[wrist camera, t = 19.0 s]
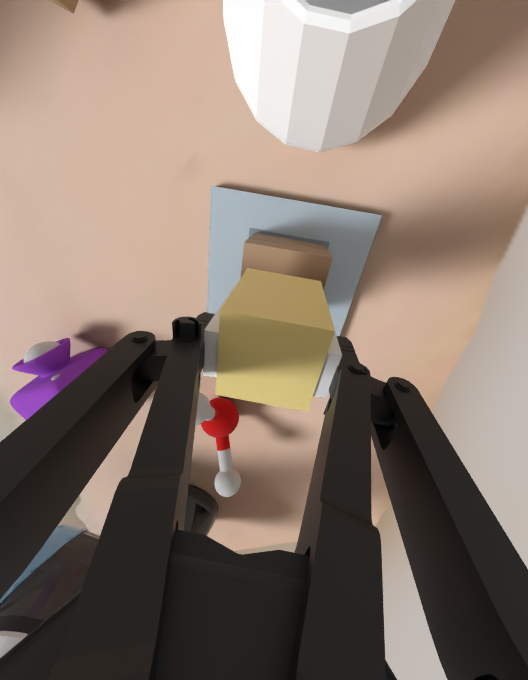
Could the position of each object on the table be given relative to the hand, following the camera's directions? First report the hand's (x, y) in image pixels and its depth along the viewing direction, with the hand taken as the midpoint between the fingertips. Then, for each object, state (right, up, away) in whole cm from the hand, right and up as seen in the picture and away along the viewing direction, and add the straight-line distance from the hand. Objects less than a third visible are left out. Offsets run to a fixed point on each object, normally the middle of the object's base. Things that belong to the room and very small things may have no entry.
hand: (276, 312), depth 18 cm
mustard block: (0, 0, 0) cm, 0 cm away
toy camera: (-26, -6, +20) cm, 34 cm away
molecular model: (-7, -12, +21) cm, 25 cm away
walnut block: (+1, +5, +9) cm, 10 cm away
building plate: (+1, +6, +10) cm, 11 cm away
